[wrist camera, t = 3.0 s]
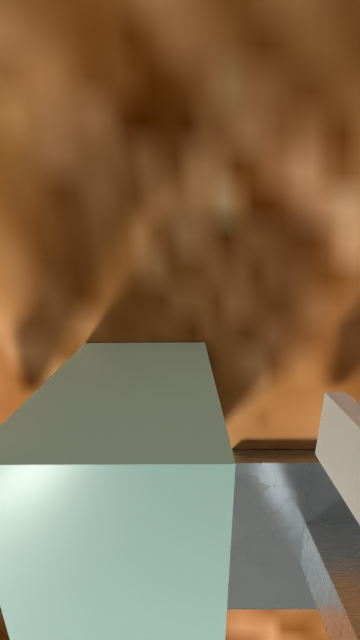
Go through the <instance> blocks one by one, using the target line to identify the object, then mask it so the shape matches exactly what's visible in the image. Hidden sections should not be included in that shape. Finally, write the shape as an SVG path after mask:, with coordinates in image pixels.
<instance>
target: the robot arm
mask: <svg viewBox="0 0 360 640" xmlns="http://www.w3.org/2000/svg"><path fill="white" fill-rule="evenodd" d="M315 455H316V457H317V458H318V460H319V461H320V463H321V464H322V466H323V468H324V469H325V471H326V472H327V474H328V476H329V477H330V479H331V480H332V482H333V484H334V485H335V487H336V488H337V490H338V492H339V493H340V495H341V496H342V498H343V500H344V501H345V503H346V504H347V506H348V507H349V509H350V511H351V512H352V514H353V515H354V517H355V519H356V520H357V522H358V523H359V525H360V404H359V403H358V402H356V401H355V400H354V399H353V398H352V397H351V396H350V395H349V394H348V393H346V392H325V395H324V401H323V408H322V414H321V420H320V426H319V432H318V439H317V445H316V451H315Z"/></svg>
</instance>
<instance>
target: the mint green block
mask: <svg viewBox="0 0 360 640" xmlns="http://www.w3.org/2000/svg"><path fill="white" fill-rule="evenodd" d="M235 466H236V464H235V460H234V456H233V452H232V448H231V444H230V440H229V436H228V432H227V428H226V424H225V420H224V416H223V412H222V408H221V404H220V401H219V397H218V393H217V389H216V385H215V381H214V377H213V373H212V369H211V365H210V361H209V357H208V353H207V349H206V345H205V342H195V343H85V344H83V345H82V346H81V347H80V348H79V349H78V350H77V351H76V352H75V353H74V354H73V355H72V356H71V357H70V358H69V359H68V360H67V361H66V362H65V363H64V364H63V365H62V366H61V367H60V368H59V369H58V370H57V371H56V372H55V373H54V374H53V375H52V376H51V377H50V378H49V379H48V380H47V381H46V382H45V383H44V384H43V385H42V386H41V387H40V388H39V389H38V390H37V391H36V392H35V393H34V394H33V395H32V396H30V397H29V398H28V399H27V400H26V401H25V402H24V403H23V404H22V405H21V406H20V407H19V408H18V409H17V410H16V411H15V412H14V413H13V414H12V415H11V416H10V417H9V418H8V419H7V420H6V421H5V422H4V423H3V424H2V425H1V426H0V607H1V610H2V614H3V618H4V621H5V625H6V628H7V632H8V635H9V639H10V640H225V634H226V617H227V601H228V584H229V567H230V550H231V534H232V517H233V500H234V483H235Z"/></svg>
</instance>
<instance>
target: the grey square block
mask: <svg viewBox="0 0 360 640" xmlns="http://www.w3.org/2000/svg"><path fill="white" fill-rule="evenodd" d="M315 451H316V450H232V452H233V456H234V460H235V464H236V466H235V483H234V500H233V517H232V534H231V550H230V567H229V584H228V601H227V609H318V611H319V614H320V616H321V619H322V621H323V624H324V627H325V629H326V632H327V635H328V637H329V640H360V525H359V523H358V522H357V520H356V519H355V517H354V515H353V514H352V512H351V511H350V509H349V507H348V506H347V504H346V503H345V501H344V500H343V498H342V496H341V495H340V493H339V492H338V490H337V488H336V487H335V485H334V484H333V482H332V480H331V479H330V477H329V476H328V474H327V472H326V471H325V469H324V468H323V466H322V464H321V463H320V461H319V460H318V458H317V457H316V455H315Z"/></svg>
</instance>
